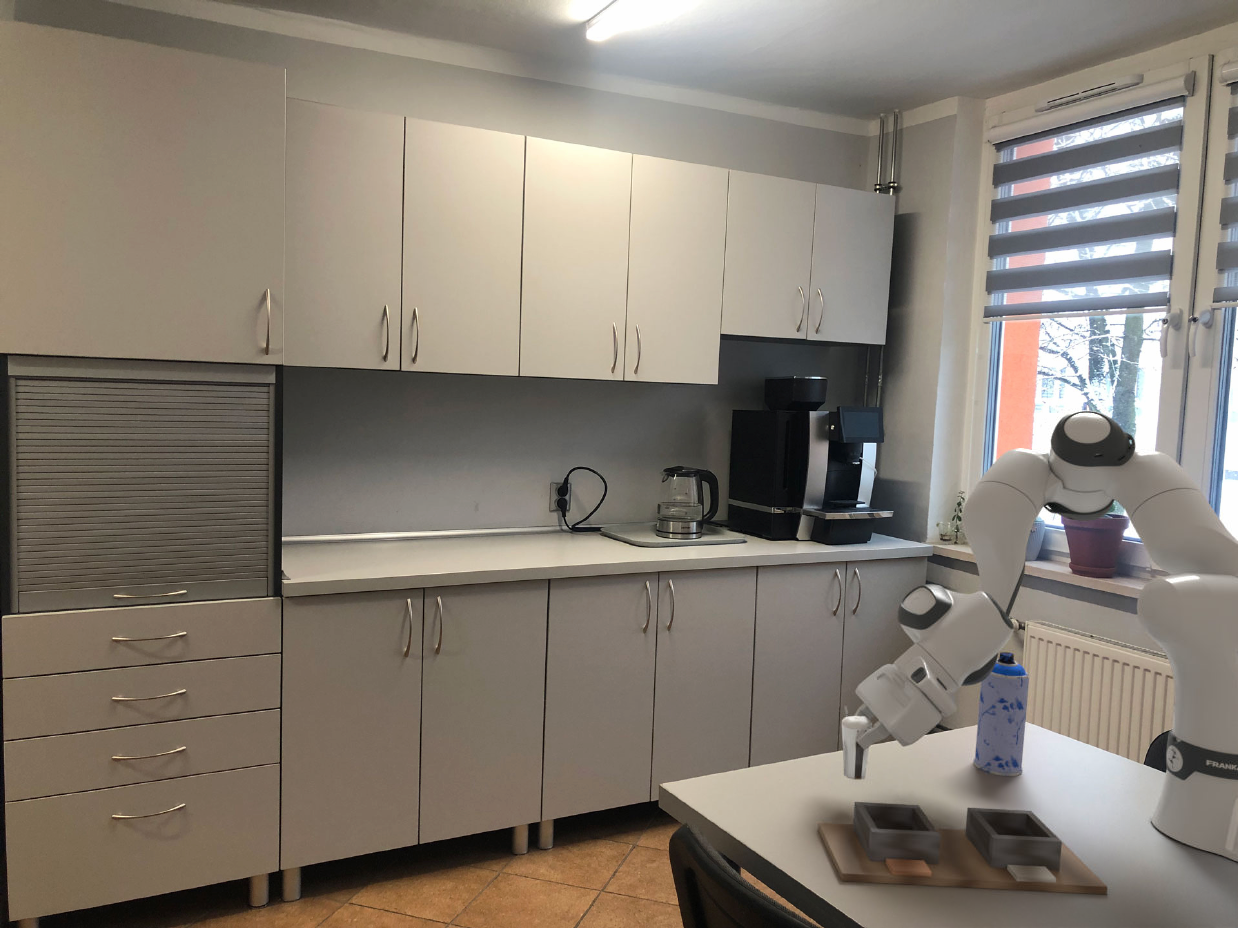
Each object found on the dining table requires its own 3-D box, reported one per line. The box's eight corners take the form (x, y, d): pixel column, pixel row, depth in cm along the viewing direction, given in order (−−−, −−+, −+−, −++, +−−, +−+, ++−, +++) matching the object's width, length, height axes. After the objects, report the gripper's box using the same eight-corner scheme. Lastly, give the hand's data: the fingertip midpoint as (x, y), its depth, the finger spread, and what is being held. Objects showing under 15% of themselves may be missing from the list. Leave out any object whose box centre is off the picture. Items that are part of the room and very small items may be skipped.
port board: (1054, 841, 130) (1057, 807, 130) (1106, 894, 116) (1110, 856, 116) (818, 829, 130) (820, 795, 130) (841, 880, 116) (844, 842, 116)
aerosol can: (1005, 757, 162) (1014, 647, 160) (1032, 775, 154) (1041, 660, 152) (964, 758, 160) (973, 646, 159) (989, 776, 153) (998, 659, 151)
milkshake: (854, 767, 143) (857, 704, 142) (876, 779, 138) (879, 714, 137) (830, 770, 141) (833, 706, 141) (850, 782, 136) (854, 716, 136)
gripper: (888, 645, 149) (825, 701, 149) (931, 682, 128) (858, 746, 129) (913, 673, 149) (850, 728, 149) (961, 714, 128) (887, 778, 129)
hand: (854, 737), depth 139 cm, fingers closed on milkshake, 4 cm apart
